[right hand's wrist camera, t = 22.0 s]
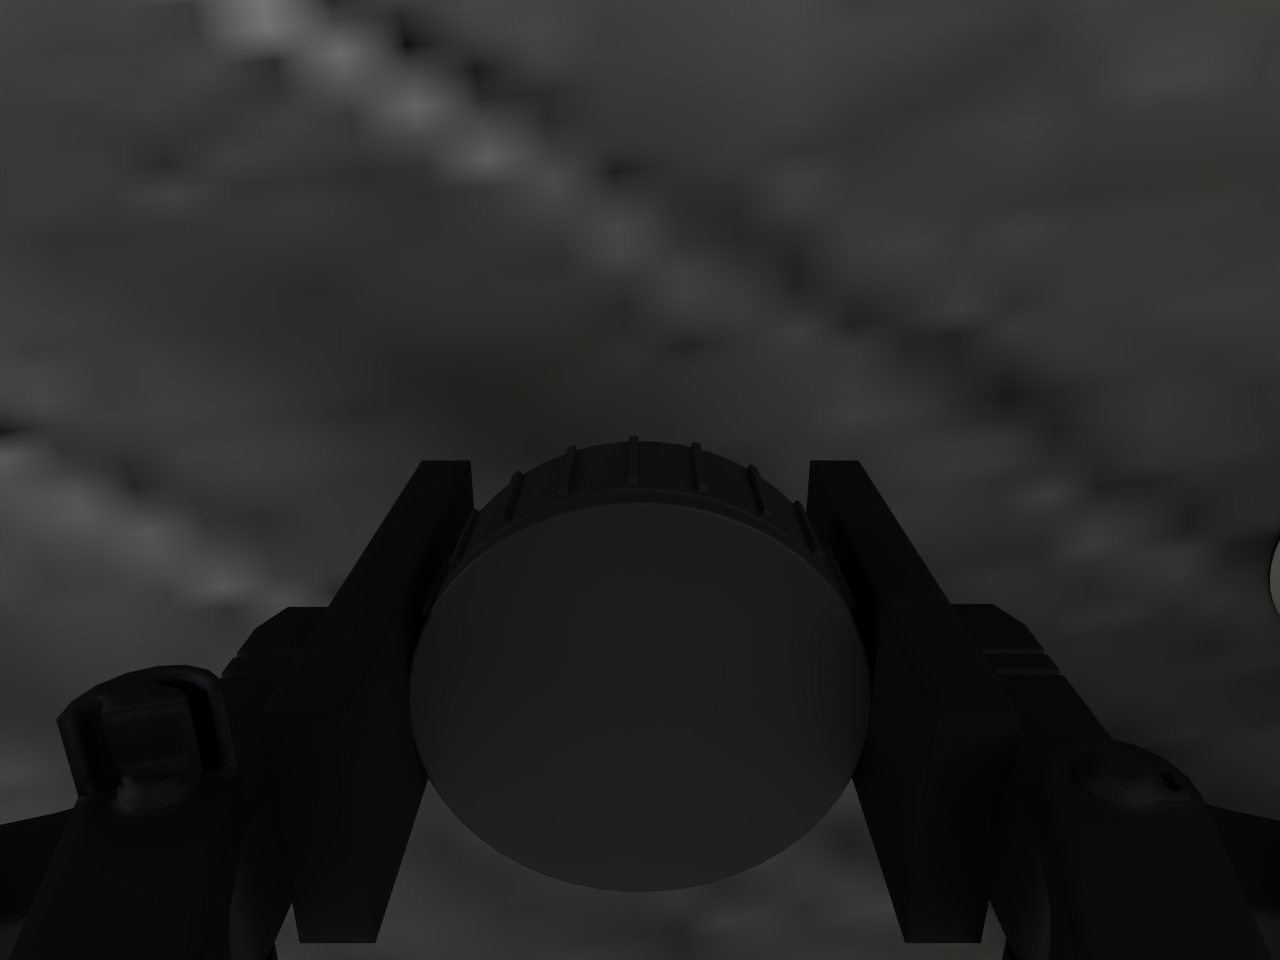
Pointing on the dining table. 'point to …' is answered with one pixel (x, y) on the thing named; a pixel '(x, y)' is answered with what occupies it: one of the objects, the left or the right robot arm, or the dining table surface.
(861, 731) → the lid
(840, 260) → the dining table surface
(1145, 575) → the dining table surface
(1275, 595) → the grey cylinder
